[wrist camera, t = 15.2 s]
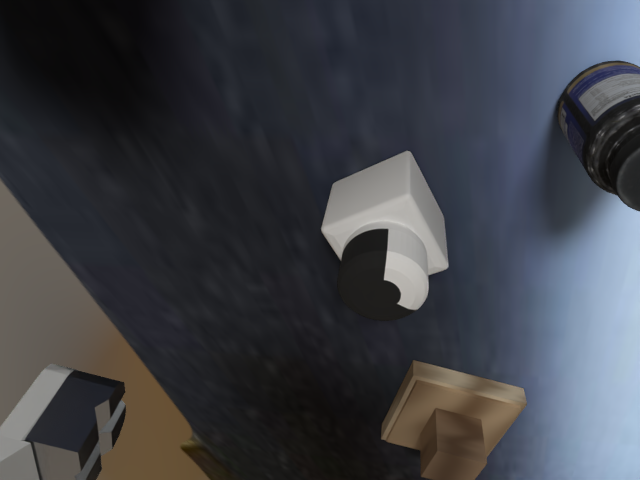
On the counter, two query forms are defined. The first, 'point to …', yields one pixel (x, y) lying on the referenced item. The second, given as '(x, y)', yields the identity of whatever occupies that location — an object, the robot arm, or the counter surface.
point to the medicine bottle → (385, 238)
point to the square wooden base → (450, 404)
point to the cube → (452, 447)
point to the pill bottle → (606, 126)
